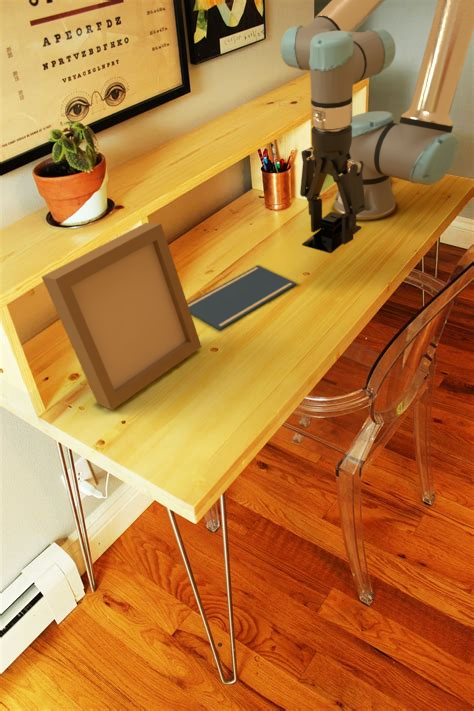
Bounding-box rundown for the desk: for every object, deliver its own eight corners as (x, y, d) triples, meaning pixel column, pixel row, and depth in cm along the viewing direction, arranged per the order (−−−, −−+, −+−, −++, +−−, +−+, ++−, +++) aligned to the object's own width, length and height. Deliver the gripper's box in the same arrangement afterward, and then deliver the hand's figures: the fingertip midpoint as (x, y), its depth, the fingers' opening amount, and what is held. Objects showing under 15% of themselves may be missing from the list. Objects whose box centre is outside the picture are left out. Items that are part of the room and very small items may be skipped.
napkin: (257, 266, 142) (257, 265, 142) (296, 284, 135) (296, 283, 134) (182, 308, 131) (181, 306, 131) (219, 330, 124) (219, 328, 124)
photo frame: (202, 350, 119) (183, 231, 104) (113, 414, 107) (77, 290, 92) (151, 324, 128) (126, 210, 112) (63, 380, 116) (22, 262, 100)
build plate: (331, 254, 126) (331, 233, 123) (300, 245, 130) (299, 225, 127) (362, 228, 133) (362, 207, 130) (332, 220, 137) (332, 200, 134)
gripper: (278, 121, 121) (283, 228, 135) (362, 142, 109) (359, 258, 123) (304, 110, 125) (307, 215, 139) (389, 129, 112) (383, 243, 126)
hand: (331, 235), depth 131 cm, fingers closed on build plate, 8 cm apart
